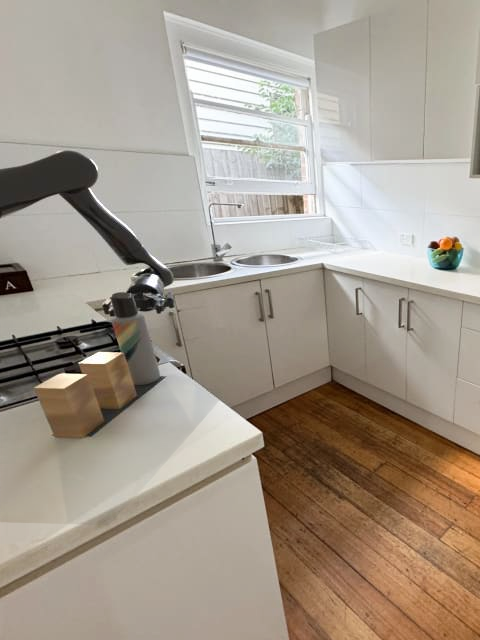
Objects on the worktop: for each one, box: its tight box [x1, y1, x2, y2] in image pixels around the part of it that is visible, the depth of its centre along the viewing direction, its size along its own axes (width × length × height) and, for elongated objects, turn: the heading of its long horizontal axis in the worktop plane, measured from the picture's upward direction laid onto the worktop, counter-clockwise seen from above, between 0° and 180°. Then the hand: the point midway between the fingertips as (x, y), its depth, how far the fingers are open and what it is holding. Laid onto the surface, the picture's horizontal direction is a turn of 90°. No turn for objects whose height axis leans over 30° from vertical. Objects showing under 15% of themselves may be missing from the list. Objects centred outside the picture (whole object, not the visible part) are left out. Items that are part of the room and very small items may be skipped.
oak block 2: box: [78, 351, 137, 409], centre depth 75 cm, size 5×5×10 cm
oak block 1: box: [33, 373, 104, 439], centre depth 67 cm, size 5×5×10 cm
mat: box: [51, 375, 167, 438], centre depth 77 cm, size 22×7×1 cm, turn 0°
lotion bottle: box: [109, 291, 161, 385], centre depth 81 cm, size 6×6×20 cm
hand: (136, 311), depth 88 cm, fingers open, 8 cm apart
